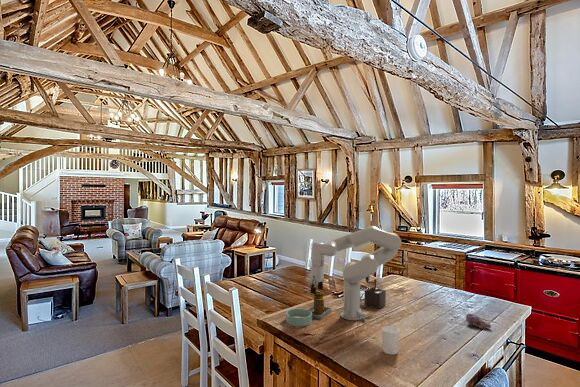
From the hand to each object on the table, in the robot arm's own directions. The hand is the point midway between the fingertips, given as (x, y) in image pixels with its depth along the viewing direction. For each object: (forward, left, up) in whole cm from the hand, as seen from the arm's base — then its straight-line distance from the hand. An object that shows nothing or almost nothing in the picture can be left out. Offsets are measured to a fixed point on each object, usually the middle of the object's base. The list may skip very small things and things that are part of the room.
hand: (316, 291), depth 193 cm
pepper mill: (-24, -34, -13) cm, 44 cm away
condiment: (-1, 0, -13) cm, 13 cm away
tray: (-1, 0, -13) cm, 13 cm away
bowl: (+3, +16, -13) cm, 21 cm away
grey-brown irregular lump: (-83, -29, -14) cm, 89 cm away
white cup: (-49, +24, -13) cm, 56 cm away
